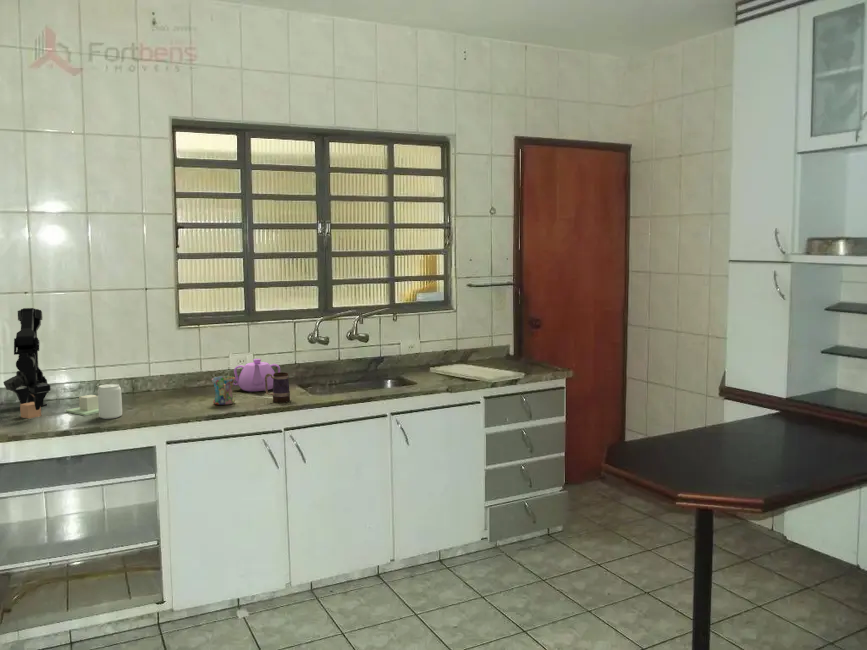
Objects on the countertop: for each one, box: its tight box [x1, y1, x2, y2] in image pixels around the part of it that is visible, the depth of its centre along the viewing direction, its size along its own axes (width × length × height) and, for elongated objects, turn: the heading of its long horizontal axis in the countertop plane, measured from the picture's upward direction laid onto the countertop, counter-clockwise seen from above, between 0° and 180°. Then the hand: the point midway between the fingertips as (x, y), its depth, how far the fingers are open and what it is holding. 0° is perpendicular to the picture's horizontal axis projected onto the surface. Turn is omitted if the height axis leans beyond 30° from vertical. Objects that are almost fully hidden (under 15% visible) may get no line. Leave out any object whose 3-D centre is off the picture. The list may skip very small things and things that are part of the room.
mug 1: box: [211, 375, 236, 406], centre depth 297 cm, size 12×9×11 cm
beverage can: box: [97, 383, 123, 420], centre depth 276 cm, size 8×8×12 cm
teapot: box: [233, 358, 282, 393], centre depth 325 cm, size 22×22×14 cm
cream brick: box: [78, 394, 99, 411], centre depth 287 cm, size 5×5×5 cm
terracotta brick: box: [19, 402, 42, 420], centre depth 278 cm, size 5×5×5 cm
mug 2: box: [265, 371, 291, 404], centre depth 302 cm, size 10×7×12 cm
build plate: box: [65, 406, 99, 417], centre depth 287 cm, size 12×12×1 cm
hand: (30, 408), depth 278 cm, fingers open, 9 cm apart
